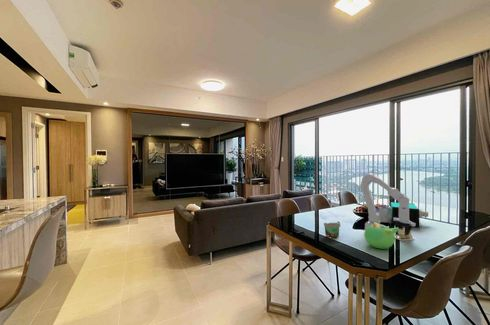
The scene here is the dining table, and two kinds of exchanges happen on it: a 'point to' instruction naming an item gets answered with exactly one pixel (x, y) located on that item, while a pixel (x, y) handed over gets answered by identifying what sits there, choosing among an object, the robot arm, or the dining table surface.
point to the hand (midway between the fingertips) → (404, 233)
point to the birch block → (403, 233)
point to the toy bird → (380, 235)
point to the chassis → (403, 238)
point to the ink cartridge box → (384, 213)
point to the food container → (332, 229)
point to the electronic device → (413, 213)
